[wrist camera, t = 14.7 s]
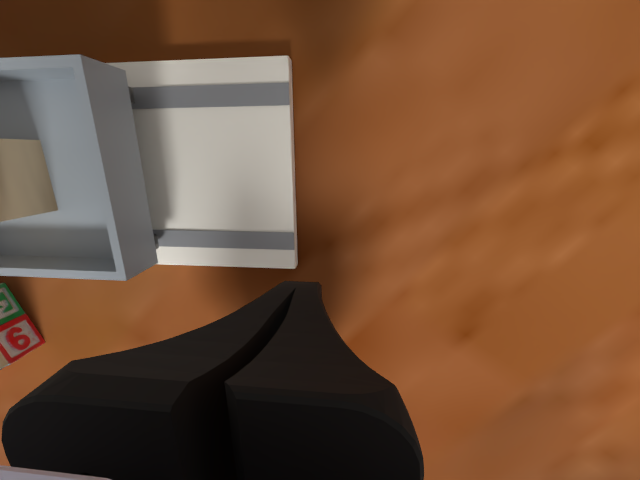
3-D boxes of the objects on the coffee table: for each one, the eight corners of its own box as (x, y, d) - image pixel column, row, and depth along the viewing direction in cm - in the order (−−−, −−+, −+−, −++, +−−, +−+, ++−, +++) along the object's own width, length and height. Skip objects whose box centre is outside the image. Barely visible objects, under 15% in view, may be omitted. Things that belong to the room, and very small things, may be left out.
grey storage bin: (174, 253, 21) (126, 280, 17) (20, 249, 22) (-62, 273, 18) (147, 78, 18) (80, 54, 13) (-29, 84, 19) (-144, 64, 15)
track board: (297, 263, 22) (294, 269, 21) (25, 255, 24) (10, 259, 23) (291, 60, 18) (287, 54, 17) (-29, 73, 20) (-50, 69, 19)
